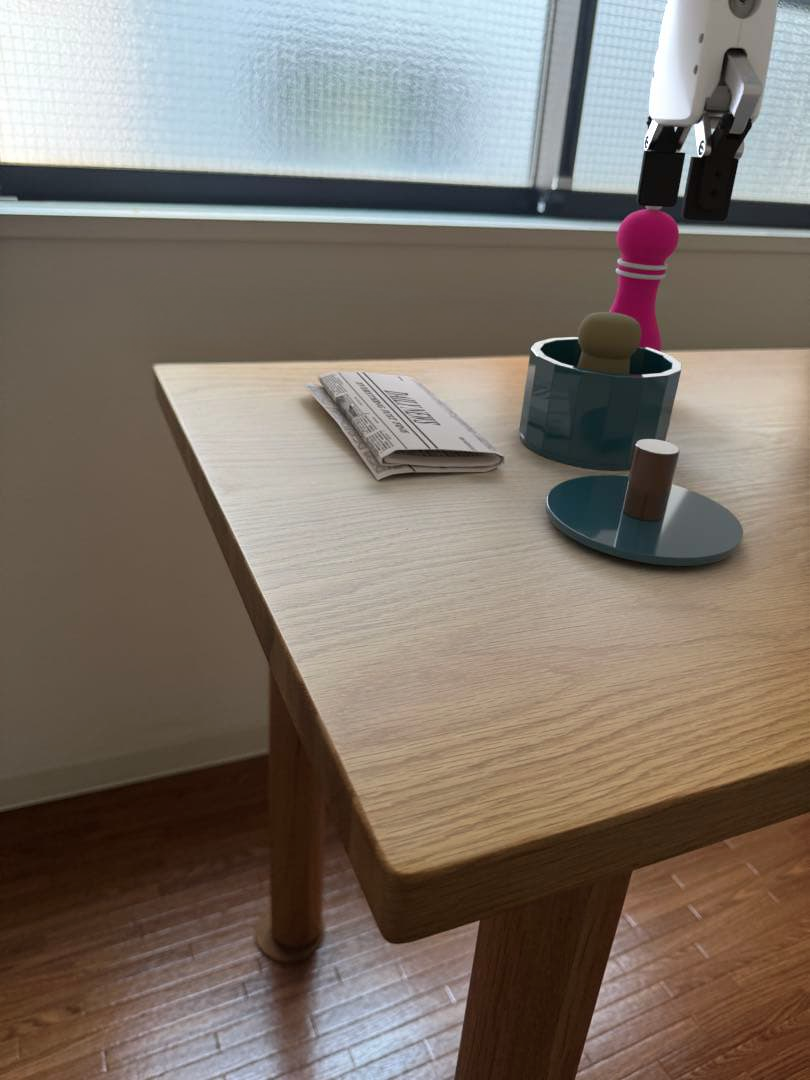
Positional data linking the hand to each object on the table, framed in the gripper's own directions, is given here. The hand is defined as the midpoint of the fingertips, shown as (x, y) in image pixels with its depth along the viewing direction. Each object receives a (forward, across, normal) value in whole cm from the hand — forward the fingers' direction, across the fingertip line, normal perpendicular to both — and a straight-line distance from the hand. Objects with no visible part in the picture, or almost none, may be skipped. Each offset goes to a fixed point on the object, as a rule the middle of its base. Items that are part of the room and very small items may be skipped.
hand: (677, 212), depth 64 cm
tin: (+20, +4, +3) cm, 21 cm away
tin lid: (+20, -13, +4) cm, 24 cm away
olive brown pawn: (+20, +4, +3) cm, 20 cm away
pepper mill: (+20, +21, -5) cm, 30 cm away
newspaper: (+20, +5, +20) cm, 29 cm away
